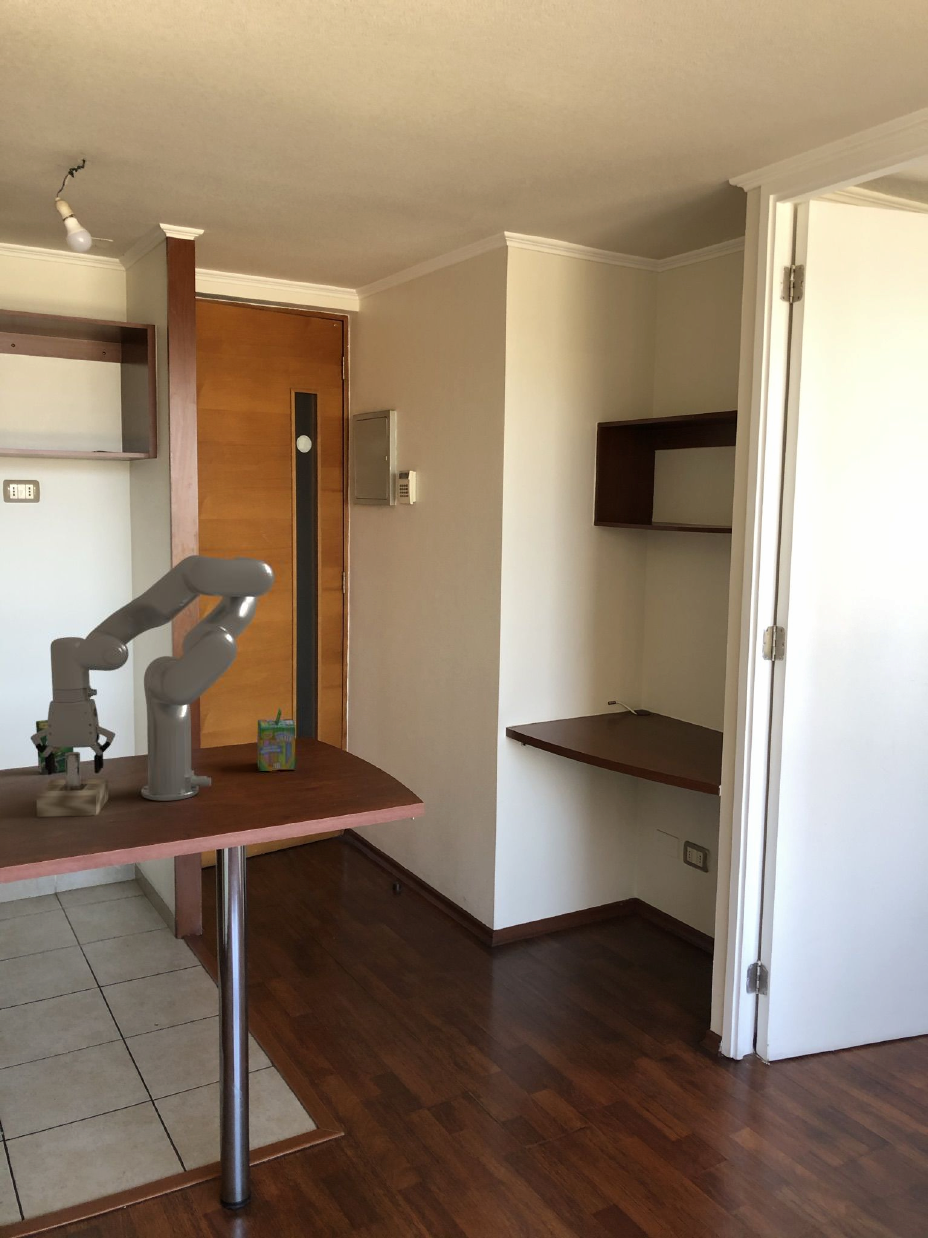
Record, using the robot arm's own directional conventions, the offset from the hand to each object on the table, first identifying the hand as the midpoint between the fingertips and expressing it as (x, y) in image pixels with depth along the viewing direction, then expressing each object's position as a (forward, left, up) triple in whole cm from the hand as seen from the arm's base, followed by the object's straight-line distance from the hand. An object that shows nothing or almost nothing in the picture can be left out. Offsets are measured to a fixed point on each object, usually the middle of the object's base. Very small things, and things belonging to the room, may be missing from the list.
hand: (74, 772), depth 216 cm
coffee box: (+11, -29, -8) cm, 32 cm away
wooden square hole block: (0, 0, -8) cm, 8 cm away
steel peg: (0, 0, -8) cm, 8 cm away
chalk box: (-42, -30, -8) cm, 52 cm away
